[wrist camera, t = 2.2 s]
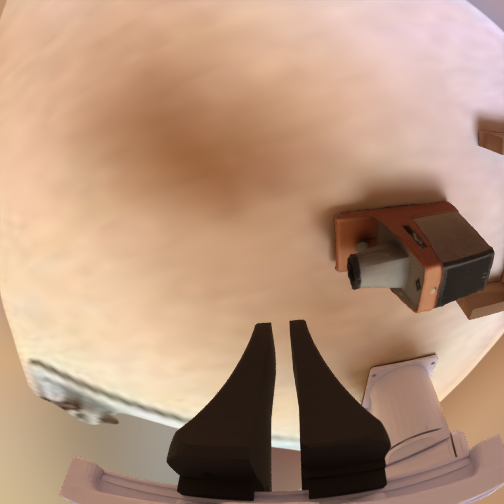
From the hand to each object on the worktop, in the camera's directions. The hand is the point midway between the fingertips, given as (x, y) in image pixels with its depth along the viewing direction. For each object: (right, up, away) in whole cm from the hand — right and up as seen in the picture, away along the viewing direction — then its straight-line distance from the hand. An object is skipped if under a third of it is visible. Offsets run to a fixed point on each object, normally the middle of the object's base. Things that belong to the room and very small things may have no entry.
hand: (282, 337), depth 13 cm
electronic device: (+9, +6, +8) cm, 13 cm away
